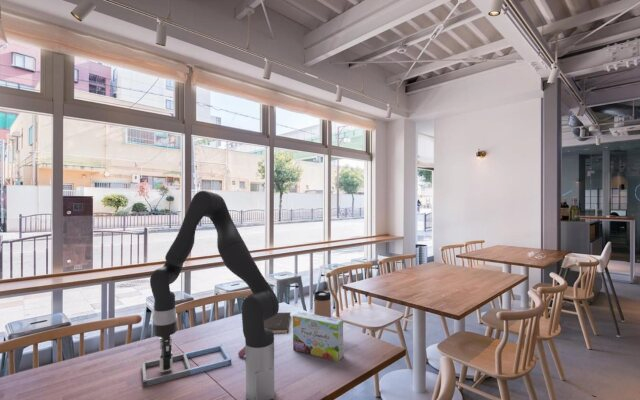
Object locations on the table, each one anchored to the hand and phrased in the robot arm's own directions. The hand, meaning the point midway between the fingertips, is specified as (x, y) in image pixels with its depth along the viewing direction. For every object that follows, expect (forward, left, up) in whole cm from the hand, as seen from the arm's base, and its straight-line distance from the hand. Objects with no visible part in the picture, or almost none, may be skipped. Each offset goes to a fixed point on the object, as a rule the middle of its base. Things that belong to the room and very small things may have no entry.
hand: (166, 366), depth 124 cm
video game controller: (-1, -31, -2) cm, 32 cm away
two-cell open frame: (0, -7, -2) cm, 8 cm away
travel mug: (-4, -65, -2) cm, 65 cm away
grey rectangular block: (0, 0, -1) cm, 1 cm away
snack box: (-17, -55, -2) cm, 58 cm away
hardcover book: (+22, -51, -3) cm, 56 cm away
